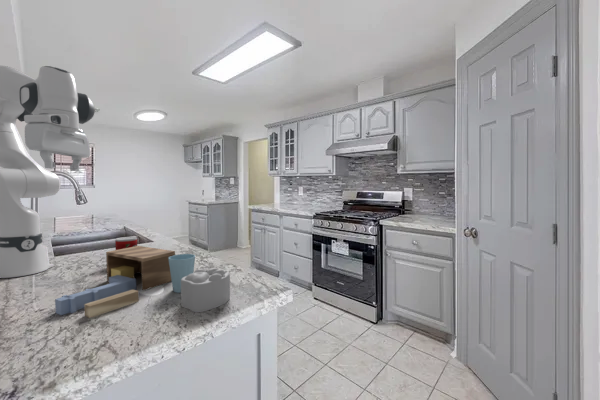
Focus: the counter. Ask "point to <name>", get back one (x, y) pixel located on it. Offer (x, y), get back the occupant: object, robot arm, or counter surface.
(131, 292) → the beech stick
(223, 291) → the lumpy-topped squat cylinder
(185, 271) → the cup
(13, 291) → the counter surface
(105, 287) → the crook
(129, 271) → the ochre block
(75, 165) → the robot arm
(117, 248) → the canned food
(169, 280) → the box
